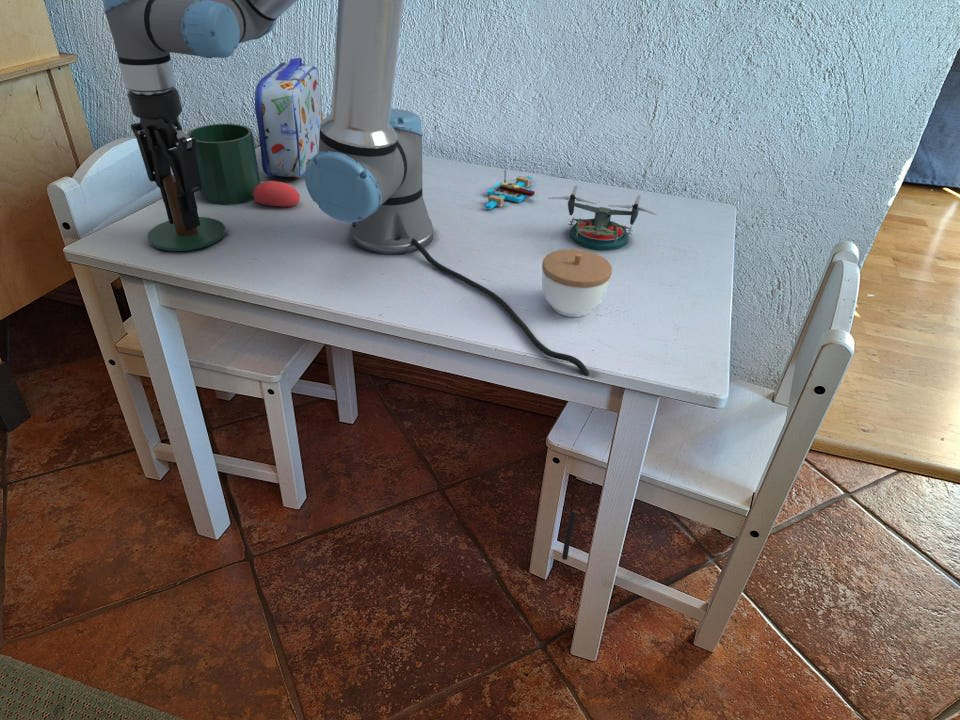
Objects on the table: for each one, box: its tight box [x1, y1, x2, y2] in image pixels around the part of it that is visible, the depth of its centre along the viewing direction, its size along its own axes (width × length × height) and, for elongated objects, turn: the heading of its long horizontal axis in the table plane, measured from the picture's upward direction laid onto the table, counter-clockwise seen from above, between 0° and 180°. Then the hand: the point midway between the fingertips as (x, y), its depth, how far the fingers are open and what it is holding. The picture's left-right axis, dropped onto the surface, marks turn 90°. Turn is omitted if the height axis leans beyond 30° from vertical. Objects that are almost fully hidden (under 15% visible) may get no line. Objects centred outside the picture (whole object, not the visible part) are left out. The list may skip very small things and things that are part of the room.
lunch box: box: [254, 57, 323, 179], centre depth 146 cm, size 28×10×22 cm, turn 1°
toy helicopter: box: [547, 185, 659, 251], centre depth 123 cm, size 20×15×8 cm
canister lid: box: [147, 174, 226, 252], centre depth 117 cm, size 13×13×11 cm
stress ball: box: [253, 180, 301, 208], centre depth 132 cm, size 5×9×6 cm, turn 71°
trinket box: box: [541, 248, 613, 318], centre depth 103 cm, size 11×11×9 cm
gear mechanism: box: [485, 169, 536, 210], centre depth 140 cm, size 20×5×9 cm
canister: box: [186, 123, 262, 205], centre depth 134 cm, size 12×12×12 cm
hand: (184, 224), depth 119 cm, fingers closed on canister lid, 3 cm apart
